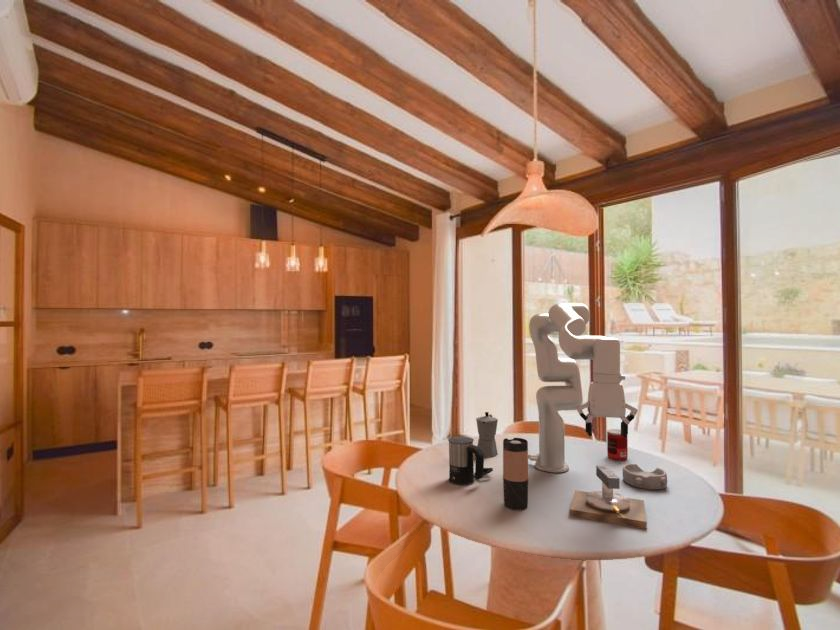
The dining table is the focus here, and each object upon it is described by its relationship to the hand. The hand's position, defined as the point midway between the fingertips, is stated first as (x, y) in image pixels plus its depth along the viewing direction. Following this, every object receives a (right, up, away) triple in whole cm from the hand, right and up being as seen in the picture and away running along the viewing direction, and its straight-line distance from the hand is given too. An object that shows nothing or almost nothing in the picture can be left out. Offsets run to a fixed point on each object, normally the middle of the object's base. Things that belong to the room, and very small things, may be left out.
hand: (606, 435), depth 133 cm
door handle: (0, -20, -2) cm, 20 cm away
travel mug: (-26, -23, +4) cm, 35 cm away
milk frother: (-38, -23, +27) cm, 52 cm away
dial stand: (0, -22, -1) cm, 22 cm away
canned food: (+26, -23, +51) cm, 62 cm away
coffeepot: (-27, -24, +58) cm, 68 cm away
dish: (+23, -23, +22) cm, 39 cm away
